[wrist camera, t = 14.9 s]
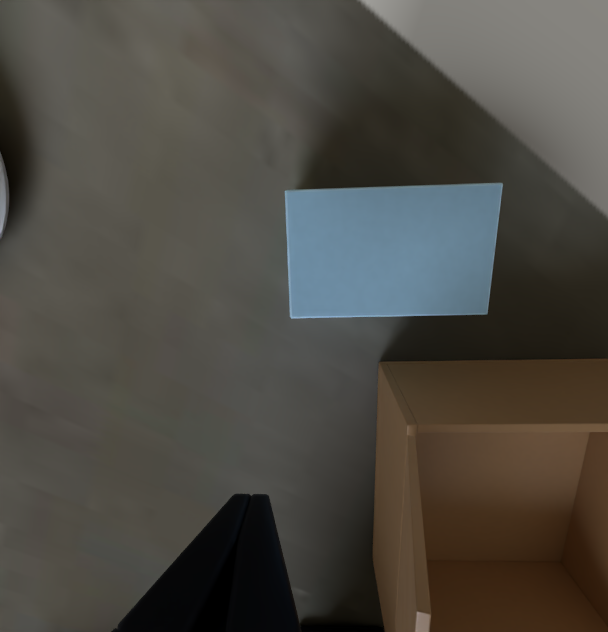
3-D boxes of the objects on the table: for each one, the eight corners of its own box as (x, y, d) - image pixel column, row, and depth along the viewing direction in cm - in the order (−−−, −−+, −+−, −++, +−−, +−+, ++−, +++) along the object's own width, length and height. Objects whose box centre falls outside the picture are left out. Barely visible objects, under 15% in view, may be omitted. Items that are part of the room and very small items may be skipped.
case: (443, 290, 18) (488, 315, 14) (296, 294, 19) (289, 318, 14) (450, 193, 17) (504, 182, 12) (293, 199, 17) (284, 189, 13)
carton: (561, 560, 23) (651, 683, 17) (372, 558, 24) (392, 677, 17) (606, 358, 19) (745, 422, 13) (378, 361, 20) (407, 424, 13)
